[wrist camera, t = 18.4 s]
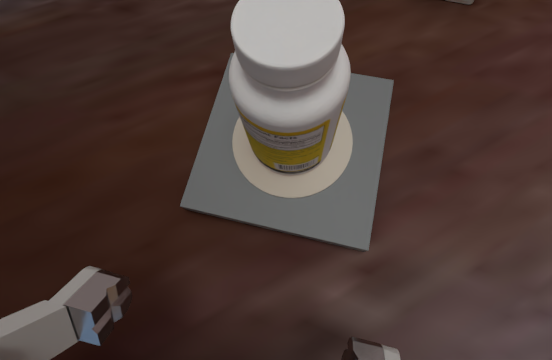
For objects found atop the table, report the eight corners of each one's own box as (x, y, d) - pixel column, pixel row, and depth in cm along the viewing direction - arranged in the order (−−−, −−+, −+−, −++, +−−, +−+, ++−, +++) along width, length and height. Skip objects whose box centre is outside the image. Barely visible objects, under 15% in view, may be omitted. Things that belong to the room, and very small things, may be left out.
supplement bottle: (286, 89, 20) (281, -62, 11) (348, 134, 19) (402, 8, 10) (233, 143, 19) (178, 27, 10) (294, 194, 18) (297, 118, 9)
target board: (186, 209, 20) (178, 205, 18) (234, 63, 23) (230, 51, 22) (363, 251, 18) (369, 250, 17) (388, 90, 22) (394, 78, 20)
